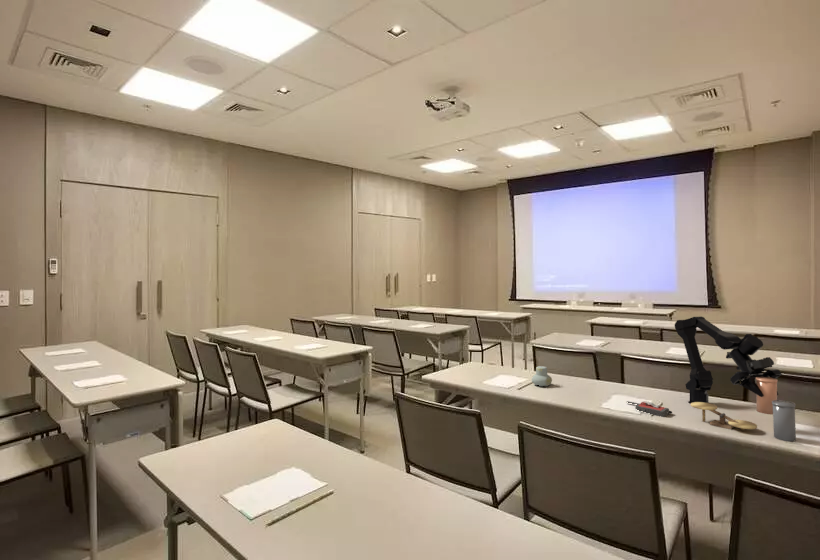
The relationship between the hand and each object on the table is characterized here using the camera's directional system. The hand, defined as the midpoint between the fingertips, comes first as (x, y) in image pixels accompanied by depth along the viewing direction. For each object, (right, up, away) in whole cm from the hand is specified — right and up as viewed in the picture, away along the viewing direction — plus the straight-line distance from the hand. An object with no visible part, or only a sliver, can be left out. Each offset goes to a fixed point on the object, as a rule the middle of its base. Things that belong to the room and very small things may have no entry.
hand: (769, 395), depth 171 cm
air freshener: (-66, -13, +73) cm, 99 cm away
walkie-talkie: (-34, -14, +26) cm, 45 cm away
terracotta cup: (0, -7, +1) cm, 7 cm away
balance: (-14, -13, +5) cm, 20 cm away
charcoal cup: (-2, -13, -9) cm, 16 cm away
